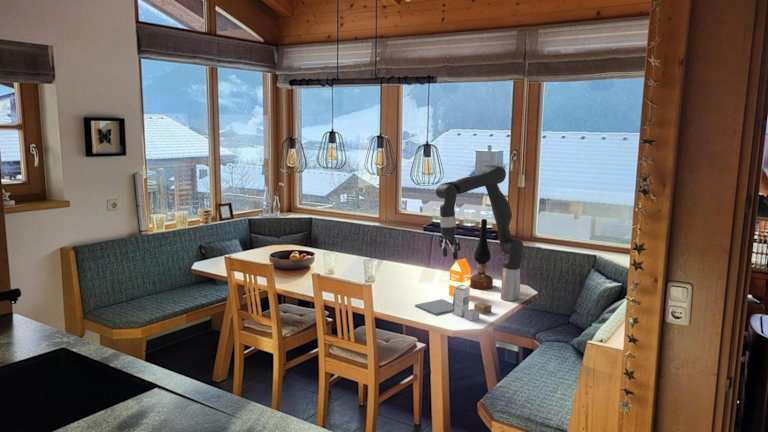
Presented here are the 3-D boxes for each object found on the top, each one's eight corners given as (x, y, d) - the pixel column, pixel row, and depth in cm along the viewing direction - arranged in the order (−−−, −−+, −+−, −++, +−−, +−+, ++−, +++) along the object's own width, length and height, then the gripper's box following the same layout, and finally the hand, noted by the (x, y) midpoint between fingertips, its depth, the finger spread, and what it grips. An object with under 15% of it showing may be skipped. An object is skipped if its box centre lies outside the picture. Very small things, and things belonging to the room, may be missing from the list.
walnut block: (482, 309, 302) (483, 302, 301) (491, 312, 297) (491, 305, 296) (474, 311, 298) (474, 303, 298) (482, 314, 293) (482, 307, 293)
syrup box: (458, 311, 297) (459, 283, 295) (468, 314, 294) (469, 285, 291) (452, 314, 293) (453, 285, 290) (462, 317, 289) (463, 288, 287)
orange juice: (448, 295, 324) (450, 259, 320) (458, 291, 330) (459, 256, 327) (460, 298, 319) (462, 262, 315) (469, 295, 325) (471, 259, 322)
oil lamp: (467, 288, 349) (457, 221, 347) (493, 284, 349) (482, 217, 347) (471, 293, 335) (460, 223, 333) (498, 288, 335) (487, 218, 333)
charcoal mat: (441, 300, 313) (442, 299, 313) (462, 309, 301) (462, 307, 300) (415, 306, 303) (415, 304, 303) (435, 315, 290) (435, 313, 290)
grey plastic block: (471, 316, 290) (472, 308, 290) (479, 319, 286) (479, 311, 285) (464, 318, 287) (464, 310, 287) (471, 321, 283) (471, 313, 283)
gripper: (463, 225, 283) (465, 258, 286) (446, 222, 295) (448, 254, 298) (450, 228, 280) (452, 261, 282) (433, 224, 292) (435, 256, 294)
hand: (450, 257), depth 290 cm, fingers open, 8 cm apart
